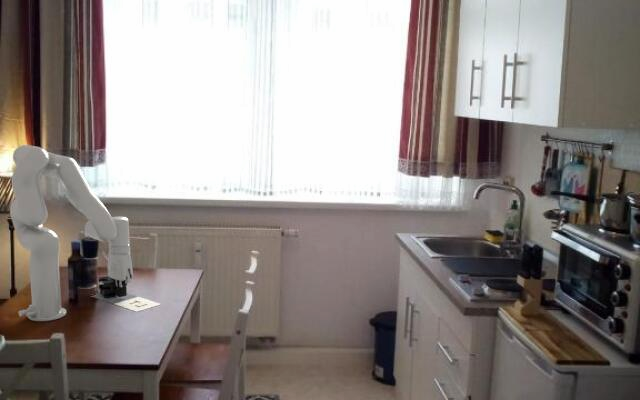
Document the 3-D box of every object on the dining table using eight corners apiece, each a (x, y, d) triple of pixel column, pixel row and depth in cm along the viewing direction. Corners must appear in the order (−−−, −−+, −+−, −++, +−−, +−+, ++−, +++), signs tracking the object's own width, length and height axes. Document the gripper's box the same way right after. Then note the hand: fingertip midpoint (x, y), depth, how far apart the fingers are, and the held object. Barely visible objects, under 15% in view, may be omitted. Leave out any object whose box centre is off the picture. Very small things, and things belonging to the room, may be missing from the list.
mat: (113, 304, 249) (113, 303, 249) (89, 295, 259) (89, 295, 259) (138, 297, 258) (138, 296, 258) (113, 289, 267) (113, 289, 267)
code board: (136, 311, 240) (136, 311, 240) (113, 304, 249) (113, 303, 249) (161, 304, 249) (161, 304, 249) (138, 297, 258) (138, 296, 258)
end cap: (123, 295, 259) (122, 279, 257) (104, 298, 255) (103, 281, 254) (116, 289, 267) (116, 272, 266) (98, 291, 263) (97, 275, 262)
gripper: (99, 248, 254) (102, 294, 257) (123, 254, 244) (125, 302, 248) (116, 244, 259) (118, 290, 262) (140, 250, 250) (142, 297, 253)
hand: (121, 295), depth 255 cm, fingers closed
